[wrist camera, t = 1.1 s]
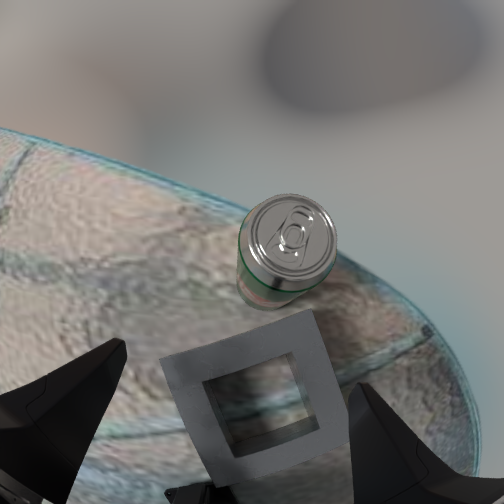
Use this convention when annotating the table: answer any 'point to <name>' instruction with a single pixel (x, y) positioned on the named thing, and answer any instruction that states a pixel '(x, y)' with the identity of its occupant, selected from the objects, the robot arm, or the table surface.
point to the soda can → (284, 250)
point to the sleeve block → (275, 442)
